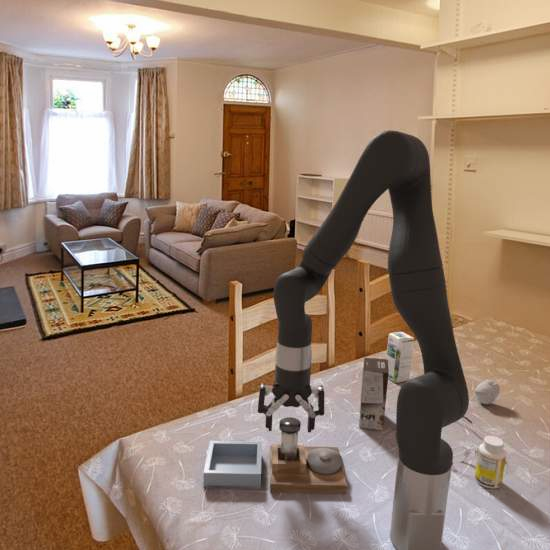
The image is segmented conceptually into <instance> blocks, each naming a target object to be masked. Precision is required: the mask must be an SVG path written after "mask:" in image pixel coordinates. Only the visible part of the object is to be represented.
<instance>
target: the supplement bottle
mask: <svg viewBox="0 0 550 550" xmlns="http://www.w3.org/2000/svg"><path fill="white" fill-rule="evenodd" d="M504 445H505V443H504V440H502V439H501V438H500V437H497V436H493V435H488V436H487V435H486V437H485V436H484V438H483V443H480V445H479V446H478V448H479V451H478V457H477V459H476V460H477V461H476V466H475V473H474V474H475V475H474V478H475V481H476V482H477V483H478V484H479V485H481V486H482V487H483V488H487V489H495V490H496V489H499V488H500V487H502V484H503V479H504V472H505V465H506V459H507V451H506V449H505V448H504Z"/></svg>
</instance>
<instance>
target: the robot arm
mask: <svg viewBox="0 0 550 550" xmlns="http://www.w3.org/2000/svg"><path fill="white" fill-rule="evenodd" d="M431 182H432V180H431V162H430V155H429V151H428V149H427V147H426V145H425V143H423V141H422V140H420V138H418V137H417V136H415V135H412V134H409V133H406V132H402V131H399V130H393V129H391V130H383V131H381V132H379V133H377V134H375V135H374V136H373V137H372V138H371V139H370V140H369V142H368V143H367V145H366V146H365V148H364V150H363V151H362V153H361V155H360V157H359V159H358V160H357V163H356V164H355V167H354V169H353V171H352V173H351V175H350V176H349V178H348V180H347V182H346V184H345V185H344V188H343V189H342V191H341V193H340V195H339V197H338V199H337V200H336V202H335V204H334V205H333V207H332V209H331V210H330V211H329V213H328V215H327V216H326V218H325V219H324V220H323V222H322V223H321V224H320V226H319V227H318V229H317V230H316V232H315V233H314V234H313V236H312V237H311V238H310V240H309V241H308V242H307V243H306V245H305V247H304V249H303V251H302V254H301V255H302V257H301V258H302V259H301V261H300V263H299V264H297V266H296V267H295V268H294V269H292V270H289V271H286V272H284V273H282V274H280V275H279V276H278V277H277V279H276V281H275V283H274V287H273V295H272V296H273V303H274V307H275V313H276V314H275V315H276V317H277V318H276V319H277V321H278V327H277V343H276V349H275V366H274V367H275V369H274V383H273V385H266V383H265V382H262V383H261V382H260V385H259V392H258V402H257V413H258V414H264V415H265V428H266V429H268V432H272V430H273V414H274V413H275V411H278V409H280V408H281V406H283V407H284V408H288V407H289V408H290V407H293V408H299V407H302V409H303V410H304V411H305V412H306V413H307V427H306V428H307V433H311V434H312V431H314V430H315V427H316V422H315V421H316V417H317V416H324V415H325V388H324V385H322V384H319V385H318V386H316V387H315V386H314V387H312V386H311V374H312V373H311V372H312V355H313V352H312V351H313V348H312V338H313V337H312V336H313V319H312V318H311V316H310V315H309V314H307V313H306V311H305V310H306V309H305V308H306V307H305V304H306V302H308V301H310V300H312V299H313V298H315V297H316V296H317V295H318V294H319V292H320V291H321V290H322V289H323V287H324V286H325V284H326V282H327V280H328V278H329V277H330V275H331V273H332V272H333V270H334V269H335V268H336V266H337V265H338V264H339V263H340V261H342V259H343V258H344V257H345V256H346V255H347V253H348V252H349V250H350V249H351V247H352V246H353V244H354V243H355V241H356V239H357V237H358V235H359V233H360V229H361V227H362V224H363V222H364V220H365V217H366V215H367V214H368V212H369V211H370V209H371V208H372V206H373V205H374V204H375V202H376V201H377V200H378V199H379V198H381V196H382V195H384V193H385V192H386V191H387V190H388V193H389V198H390V204H391V208H392V220H393V221H392V229H391V238H390V242H389V248H388V253H387V254H388V255H387V270H388V271H387V272H388V279H389V284H390V291H391V297H392V301H393V303H394V306H395V309H396V310H397V312H398V313H399V315H400V316H401V318H402V319H403V321H404V322H405V323H406V325H407V327H409V329H410V330H411V332H412V333H413V335H414V337H415V338H416V341H417V343H418V346H419V348H420V353H421V357H422V365H423V374H422V375H419V376H416V377H414V378H411V379H410V378H409V380H408V381H404V383H402V385H401V387H400V389H399V391H398V394H397V400H396V417H395V418H396V419H395V439H396V443H397V447H398V454H397V462H396V463H397V464H396V473H395V481H394V493H393V499H392V500H393V502H392V509H391V510H392V512H391V521H390V522H391V523H390V531H389V538H390V541H391V544H392V545H393V547H395V549H396V550H441V548H442V541H443V536H444V528H445V527H444V526H445V519H446V512H447V505H448V497H449V489H450V483H451V482H450V481H451V476H452V475H451V474H452V468H453V467H452V466H453V463H452V462H454V461H453V460H454V452H453V451H454V450H452V449H453V448H452V447H451V445H450V444H449V443H448V442H447V441H446V440H444V439H443V438H442V431H443V428H445V427H447V426H450V425H451V424H454V423H456V422H459V420H461V419H462V417H463V416H464V417H465V416H466V414H467V411H468V409H469V406H470V405H469V404H470V403H469V401H470V398H469V391H468V386H467V382H466V377H465V374H464V371H463V366H462V362H461V359H460V356H459V351H458V348H457V344H456V339H455V333H454V329H453V322H452V317H451V312H450V306H449V301H448V293H447V291H448V290H447V284H446V277H445V272H444V264H443V260H442V255H441V249H440V244H439V238H438V232H437V228H436V227H437V225H436V221H435V216H434V212H433V211H434V210H433V201H432V200H433V199H432V184H431ZM271 393H272V394H273V398H272V399H271V401H270V402H269V403H268V405H266V404H265V399H266V397H268V396H269V395H270V394H271ZM311 395H314V397H315V398H316V399H317V406H315V407H314V405H313V404H312V403H311V401H310V399H309V398H310V397H311Z"/></svg>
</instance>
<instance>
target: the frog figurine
mask: <svg viewBox="0 0 550 550" xmlns="http://www.w3.org/2000/svg"><path fill="white" fill-rule="evenodd" d="M474 389H475V390H474V394H475V396H476V399H477V400H478V402H479V403H480V404H482V405H490V404H492V403H493V402H495V400H496V398H498V396H499V395H500V392H501V388H500V385H499V384H498V383H497V382H495V381H494V380H492V379H489V378H488V379H487V378H486V379H485V380H483V381H482V382H480V383H479V384H478V385H477V386H476V388H474Z"/></svg>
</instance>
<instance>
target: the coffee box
mask: <svg viewBox="0 0 550 550" xmlns="http://www.w3.org/2000/svg"><path fill="white" fill-rule="evenodd" d="M362 368H363V369H362V380H361V393H360V405H359V406H360V407H359V408H360V409H359V418H358V419H359V423H358V427H359V428H363V429H370V430H376V431H377V430H378V431H383V430H384V422H385V413H386V405H387V404H386V402H387V393H388V382H389V378H388V374H389V368H388V360H387V359H386V358H374V357H372V358H371V357H364V358H363V367H362Z"/></svg>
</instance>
